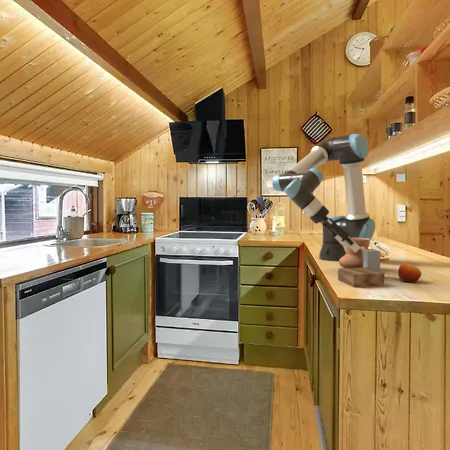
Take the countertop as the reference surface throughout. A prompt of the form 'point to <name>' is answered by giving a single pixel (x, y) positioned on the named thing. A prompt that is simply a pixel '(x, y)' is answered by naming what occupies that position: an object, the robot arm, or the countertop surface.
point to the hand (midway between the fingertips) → (352, 248)
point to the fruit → (409, 273)
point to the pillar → (371, 259)
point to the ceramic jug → (355, 254)
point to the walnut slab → (361, 277)
